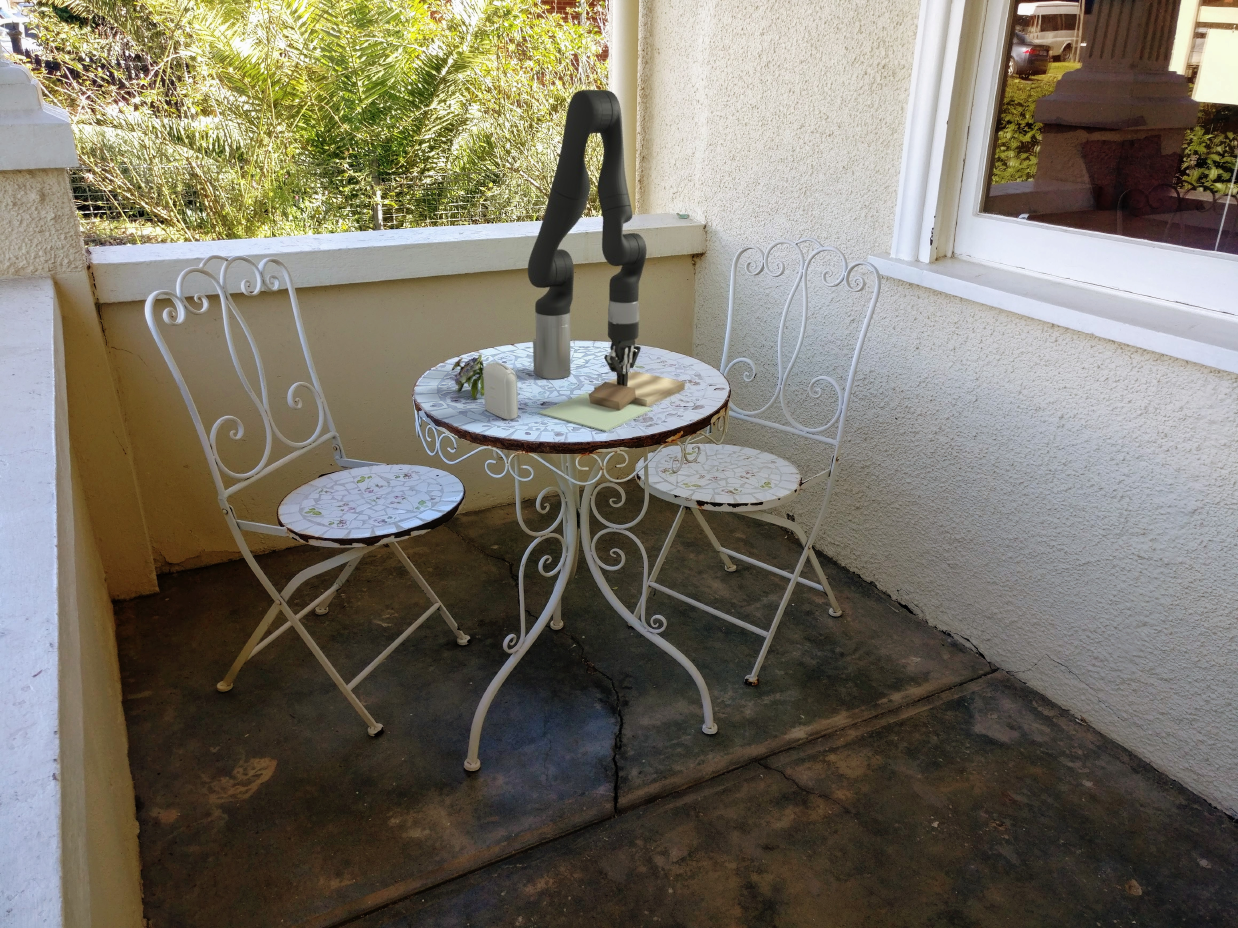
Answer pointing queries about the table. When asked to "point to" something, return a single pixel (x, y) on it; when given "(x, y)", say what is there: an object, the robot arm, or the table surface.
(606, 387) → the walnut slab
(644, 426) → the table surface
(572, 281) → the robot arm
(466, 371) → the passion flower
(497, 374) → the photo printer
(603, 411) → the sage mat
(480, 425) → the table surface
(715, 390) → the table surface
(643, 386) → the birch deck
